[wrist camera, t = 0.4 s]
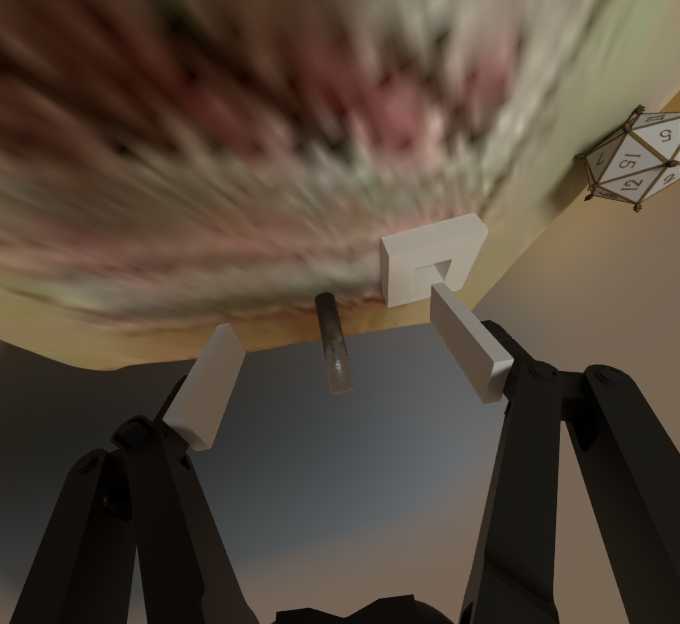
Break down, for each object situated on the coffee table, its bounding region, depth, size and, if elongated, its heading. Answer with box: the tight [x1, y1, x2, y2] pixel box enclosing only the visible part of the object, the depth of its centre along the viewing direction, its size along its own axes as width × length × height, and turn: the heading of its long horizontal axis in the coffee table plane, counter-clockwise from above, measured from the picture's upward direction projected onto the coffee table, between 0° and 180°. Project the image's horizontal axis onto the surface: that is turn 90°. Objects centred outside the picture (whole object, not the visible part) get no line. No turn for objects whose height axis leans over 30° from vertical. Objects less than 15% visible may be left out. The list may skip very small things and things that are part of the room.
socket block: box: [381, 212, 489, 308], centre depth 34 cm, size 12×12×4 cm
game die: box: [575, 105, 680, 213], centre depth 23 cm, size 9×8×10 cm
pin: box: [315, 293, 355, 395], centre depth 35 cm, size 3×3×15 cm
